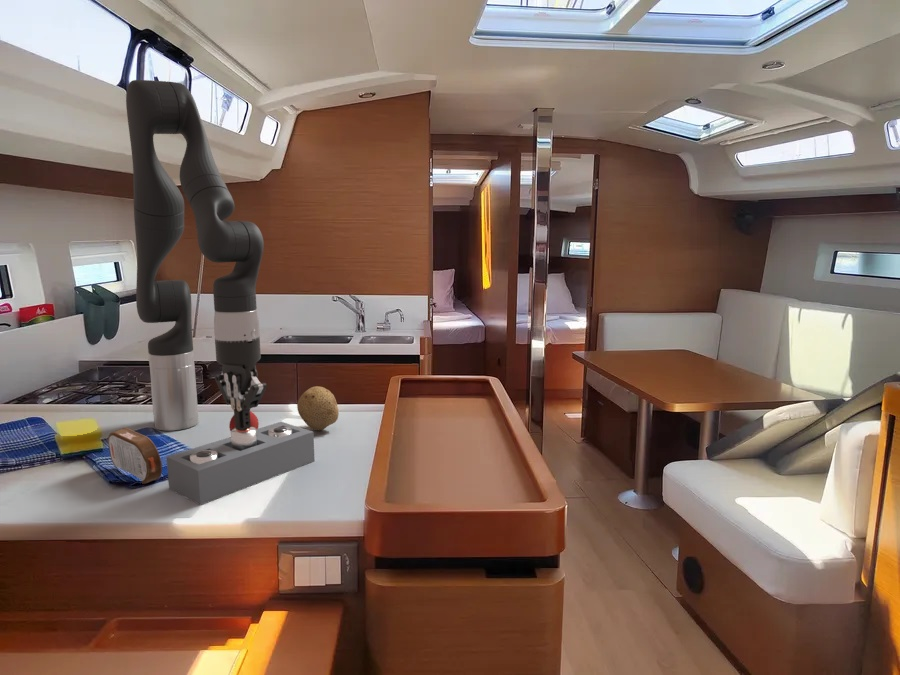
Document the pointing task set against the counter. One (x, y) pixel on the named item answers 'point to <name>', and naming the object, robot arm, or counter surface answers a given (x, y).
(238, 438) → the knob mid
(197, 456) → the knob
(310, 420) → the brown oval lump
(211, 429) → the counter surface
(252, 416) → the onion
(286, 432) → the knob
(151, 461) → the tin
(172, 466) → the mount
